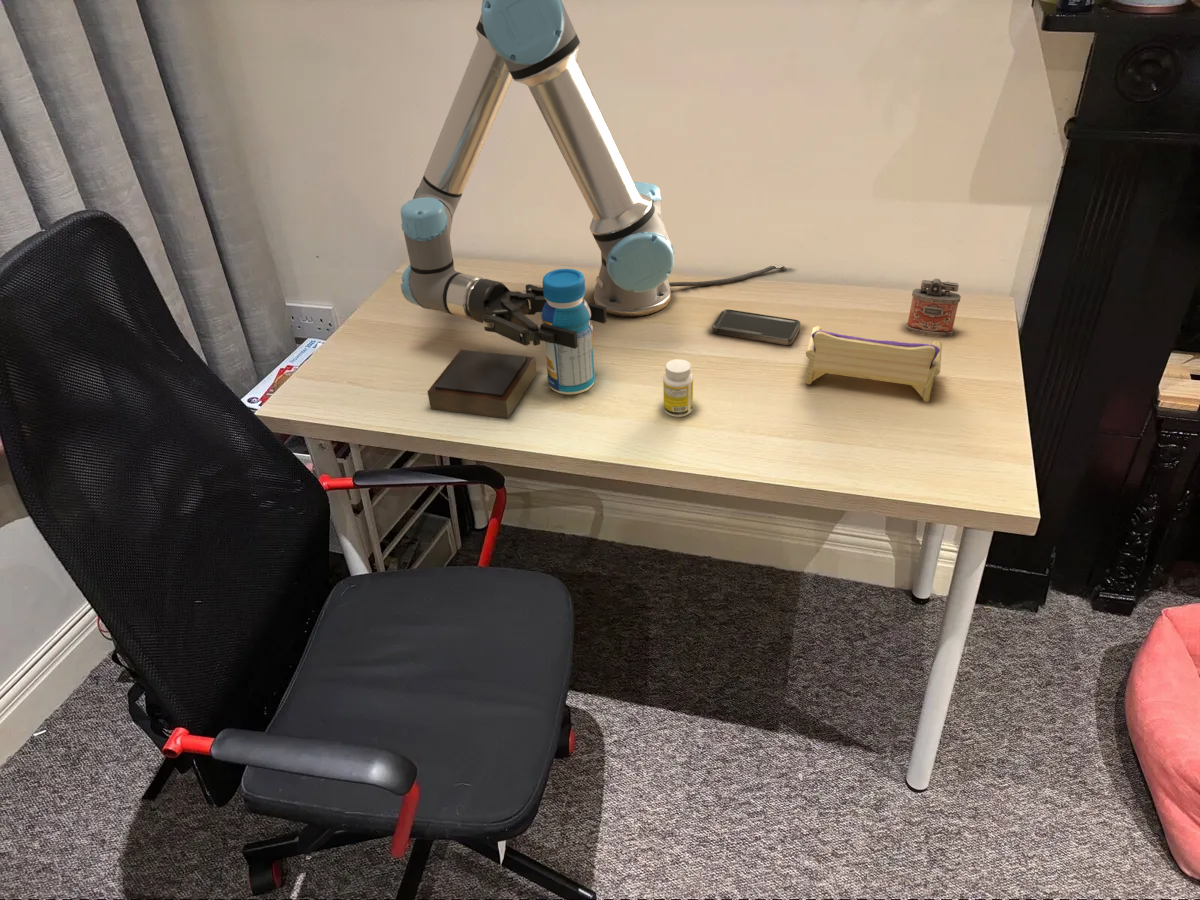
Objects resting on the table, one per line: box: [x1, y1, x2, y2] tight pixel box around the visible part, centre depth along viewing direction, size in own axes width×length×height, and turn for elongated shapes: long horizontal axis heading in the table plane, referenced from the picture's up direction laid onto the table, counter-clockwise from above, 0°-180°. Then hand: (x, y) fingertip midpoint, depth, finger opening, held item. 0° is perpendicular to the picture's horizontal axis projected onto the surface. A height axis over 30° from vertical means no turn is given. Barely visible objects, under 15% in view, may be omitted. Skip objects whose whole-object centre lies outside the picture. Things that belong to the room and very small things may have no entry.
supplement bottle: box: [662, 358, 694, 418], centre depth 138 cm, size 5×5×8 cm
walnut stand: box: [427, 348, 537, 420], centre depth 147 cm, size 14×14×4 cm
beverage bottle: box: [540, 268, 596, 395], centre depth 143 cm, size 8×8×20 cm
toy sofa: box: [805, 325, 943, 402], centre depth 141 cm, size 21×9×10 cm, turn 71°
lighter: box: [905, 278, 962, 338], centre depth 153 cm, size 8×3×10 cm, turn 68°
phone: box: [712, 308, 801, 346], centre depth 160 cm, size 8×1×15 cm
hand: (590, 327), depth 139 cm, fingers closed on beverage bottle, 8 cm apart
